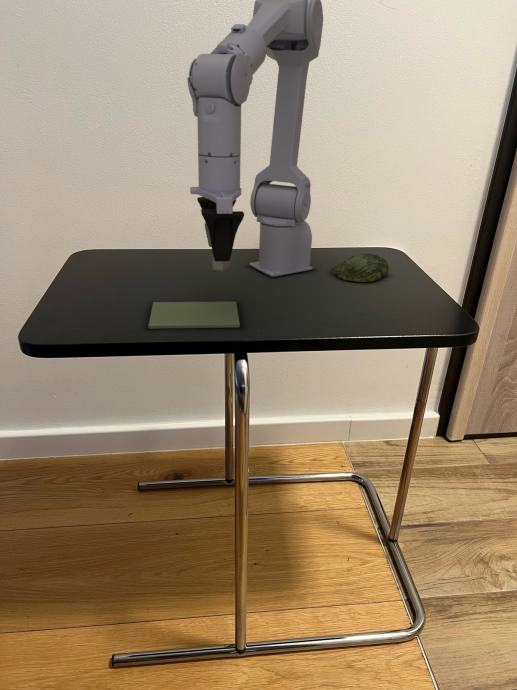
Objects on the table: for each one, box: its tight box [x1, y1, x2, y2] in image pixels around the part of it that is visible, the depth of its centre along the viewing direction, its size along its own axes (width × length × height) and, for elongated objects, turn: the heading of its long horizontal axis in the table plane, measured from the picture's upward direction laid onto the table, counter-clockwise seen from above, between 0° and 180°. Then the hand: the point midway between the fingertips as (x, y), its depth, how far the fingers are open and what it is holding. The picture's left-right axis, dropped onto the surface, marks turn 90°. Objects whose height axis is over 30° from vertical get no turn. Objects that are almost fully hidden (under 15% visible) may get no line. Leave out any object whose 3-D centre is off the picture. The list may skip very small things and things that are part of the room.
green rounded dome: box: [332, 253, 389, 283], centre depth 101 cm, size 10×4×10 cm
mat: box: [148, 301, 241, 330], centre depth 82 cm, size 13×9×1 cm
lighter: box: [204, 221, 233, 272], centre depth 78 cm, size 7×2×8 cm, turn 164°
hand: (219, 252), depth 79 cm, fingers closed on lighter, 7 cm apart
